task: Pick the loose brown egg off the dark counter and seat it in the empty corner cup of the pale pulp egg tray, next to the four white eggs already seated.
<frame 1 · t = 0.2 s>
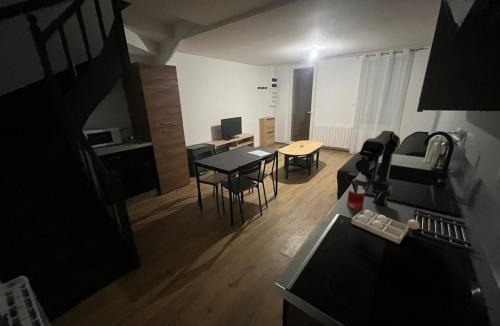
hand: (365, 197, 99), 14 cm above the counter, fingers open, 9 cm apart
white egg C: (366, 218, 106), resting on egg tray
white egg B: (376, 229, 97), resting on egg tray
white egg A: (361, 223, 102), resting on egg tray
canned food: (354, 207, 117), on the counter
brown egg: (412, 228, 98), on the counter
white egg D: (381, 223, 101), resting on egg tray
egg tray: (378, 227, 99), on the counter
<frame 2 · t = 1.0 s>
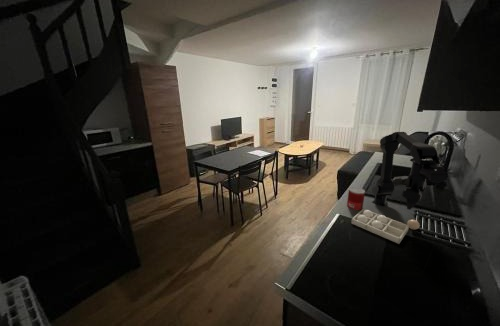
hand: (410, 205, 94), 12 cm above the counter, fingers open, 9 cm apart
nothing on the counter moved.
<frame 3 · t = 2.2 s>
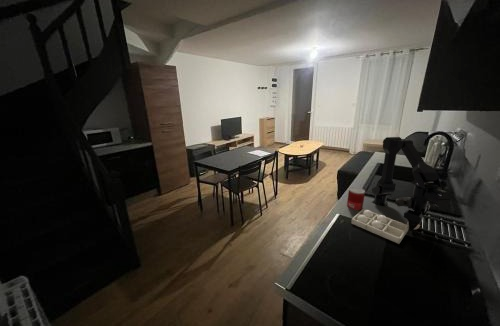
hand: (413, 225, 97), 2 cm above the counter, fingers open, 9 cm apart
nothing on the counter moved.
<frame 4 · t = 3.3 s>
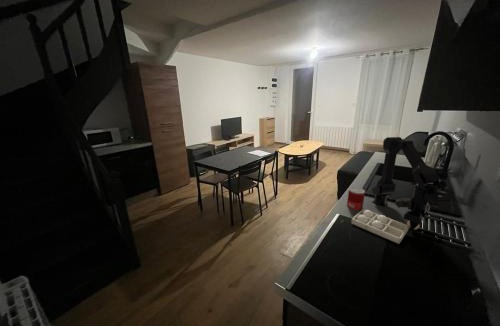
hand: (413, 227, 97), 1 cm above the counter, fingers closed on brown egg, 5 cm apart
brown egg: (412, 228, 98), on the counter, tilted 5°, touching gripper
everything else where it was.
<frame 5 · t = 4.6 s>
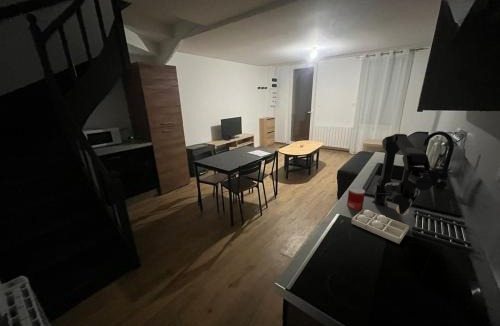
hand: (402, 212, 93), 10 cm above the counter, fingers closed on brown egg, 5 cm apart
brown egg: (401, 213, 94), point 9 cm above the counter, tilted 6°, touching gripper
everything else where it was.
when the fingers open (3 cm above the counter, at t = 6.2 s): brown egg drops 2 cm, resting on egg tray.
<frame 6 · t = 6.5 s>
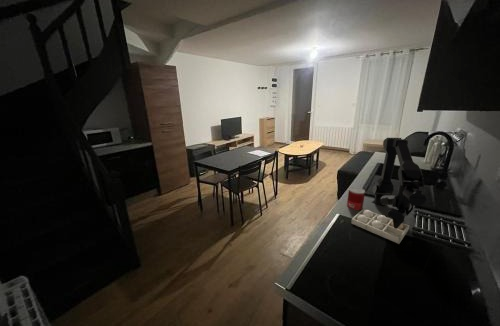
hand: (398, 224, 95), 3 cm above the counter, fingers open, 8 cm apart
brown egg: (396, 229, 97), point 1 cm above the counter, touching egg tray
everything else where it was.
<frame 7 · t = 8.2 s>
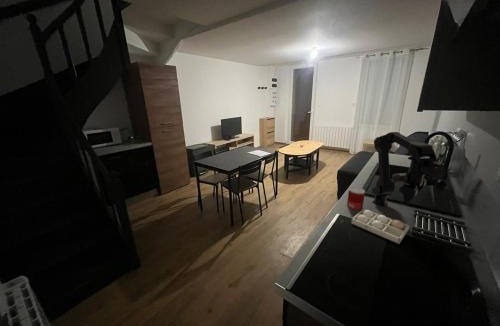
hand: (408, 200, 99), 12 cm above the counter, fingers open, 9 cm apart
nothing on the counter moved.
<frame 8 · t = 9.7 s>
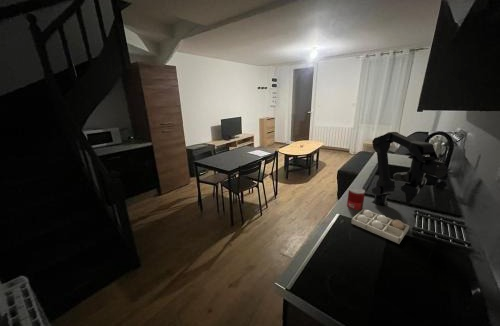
hand: (410, 199, 100), 12 cm above the counter, fingers open, 9 cm apart
nothing on the counter moved.
at the end: brown egg 0.4 cm from the target spot on the egg tray, point 0.5 cm above the egg tray's base; the gripper is holding nothing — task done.
